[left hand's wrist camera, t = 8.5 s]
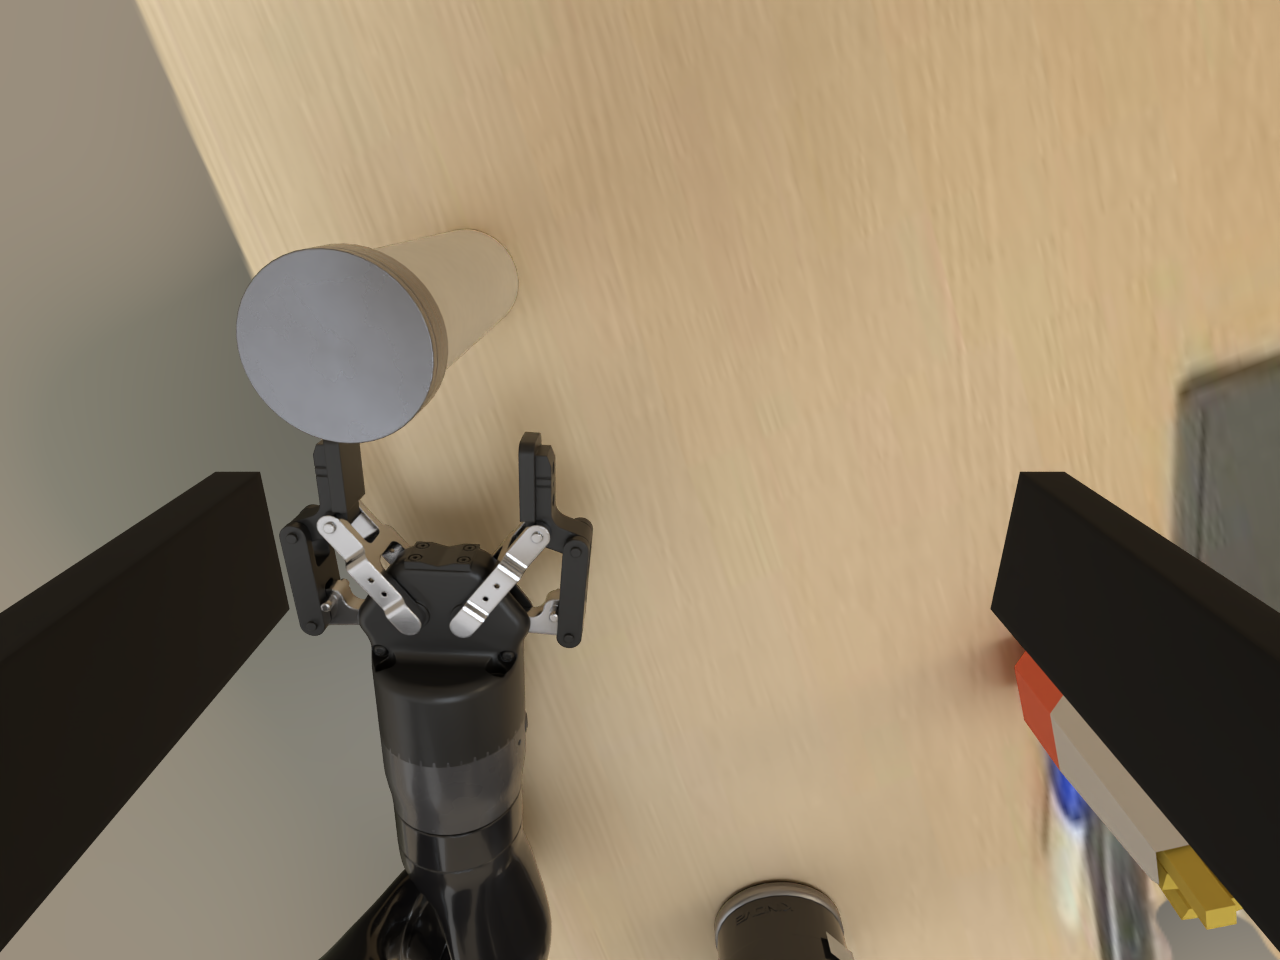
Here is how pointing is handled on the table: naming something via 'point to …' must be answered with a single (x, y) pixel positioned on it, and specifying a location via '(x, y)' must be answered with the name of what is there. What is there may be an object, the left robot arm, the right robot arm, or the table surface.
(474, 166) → the table surface
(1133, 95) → the table surface
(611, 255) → the table surface
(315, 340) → the lid
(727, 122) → the table surface
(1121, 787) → the french fries container
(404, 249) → the jar
